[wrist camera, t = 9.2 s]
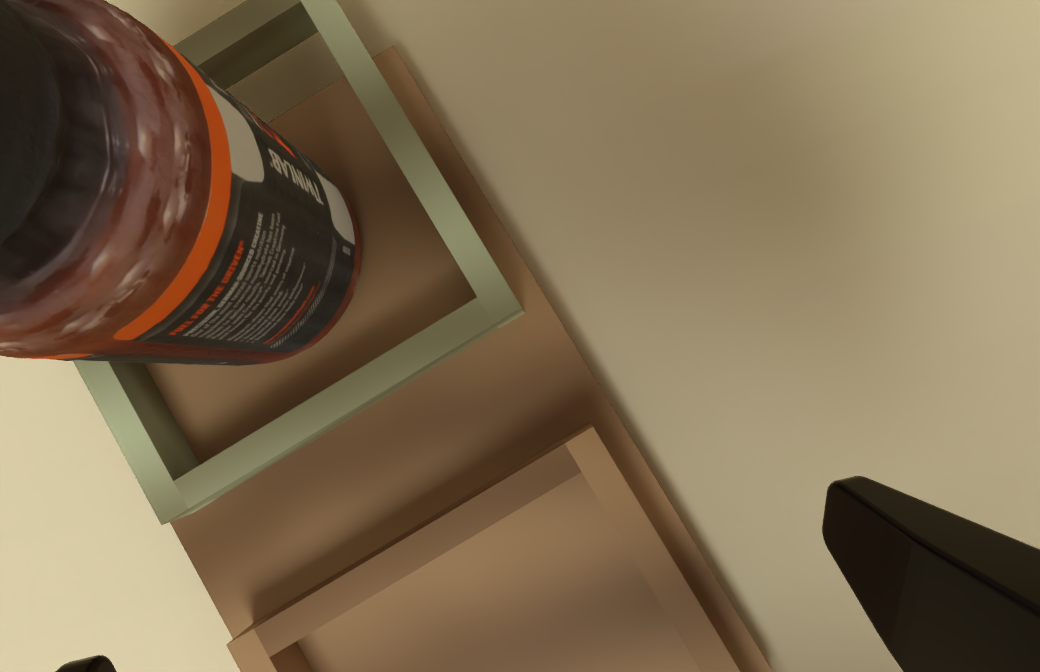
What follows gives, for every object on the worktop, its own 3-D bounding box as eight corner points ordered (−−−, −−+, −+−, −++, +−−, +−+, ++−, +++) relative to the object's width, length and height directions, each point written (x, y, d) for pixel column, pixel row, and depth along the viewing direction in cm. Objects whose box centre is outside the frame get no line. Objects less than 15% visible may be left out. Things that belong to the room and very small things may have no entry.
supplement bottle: (381, 163, 19) (111, -142, 8) (354, 378, 19) (31, 385, 7) (175, 143, 19) (-365, -174, 8) (145, 352, 19) (-457, 323, 8)
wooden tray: (817, 747, 18) (856, 806, 16) (435, 966, 19) (415, 1056, 16) (362, -3, 20) (334, -56, 18) (23, 209, 21) (-51, 186, 18)
